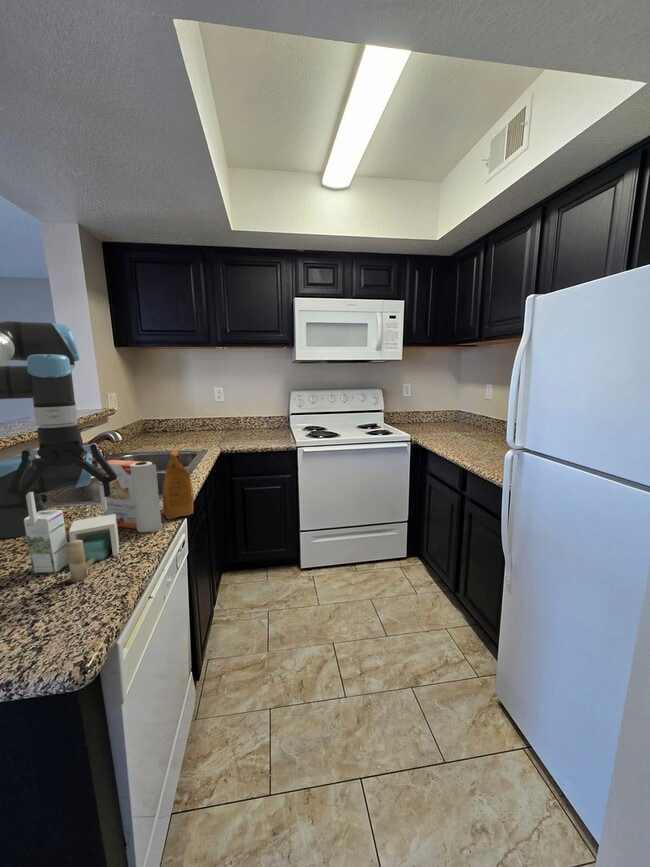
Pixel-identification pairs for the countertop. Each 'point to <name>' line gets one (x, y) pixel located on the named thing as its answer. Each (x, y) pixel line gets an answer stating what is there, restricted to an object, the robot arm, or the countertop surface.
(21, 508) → the robot arm
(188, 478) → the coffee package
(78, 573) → the tethered block
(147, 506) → the paper towel roll
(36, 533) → the syrup box
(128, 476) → the cracker box
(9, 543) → the countertop surface
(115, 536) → the cubby
